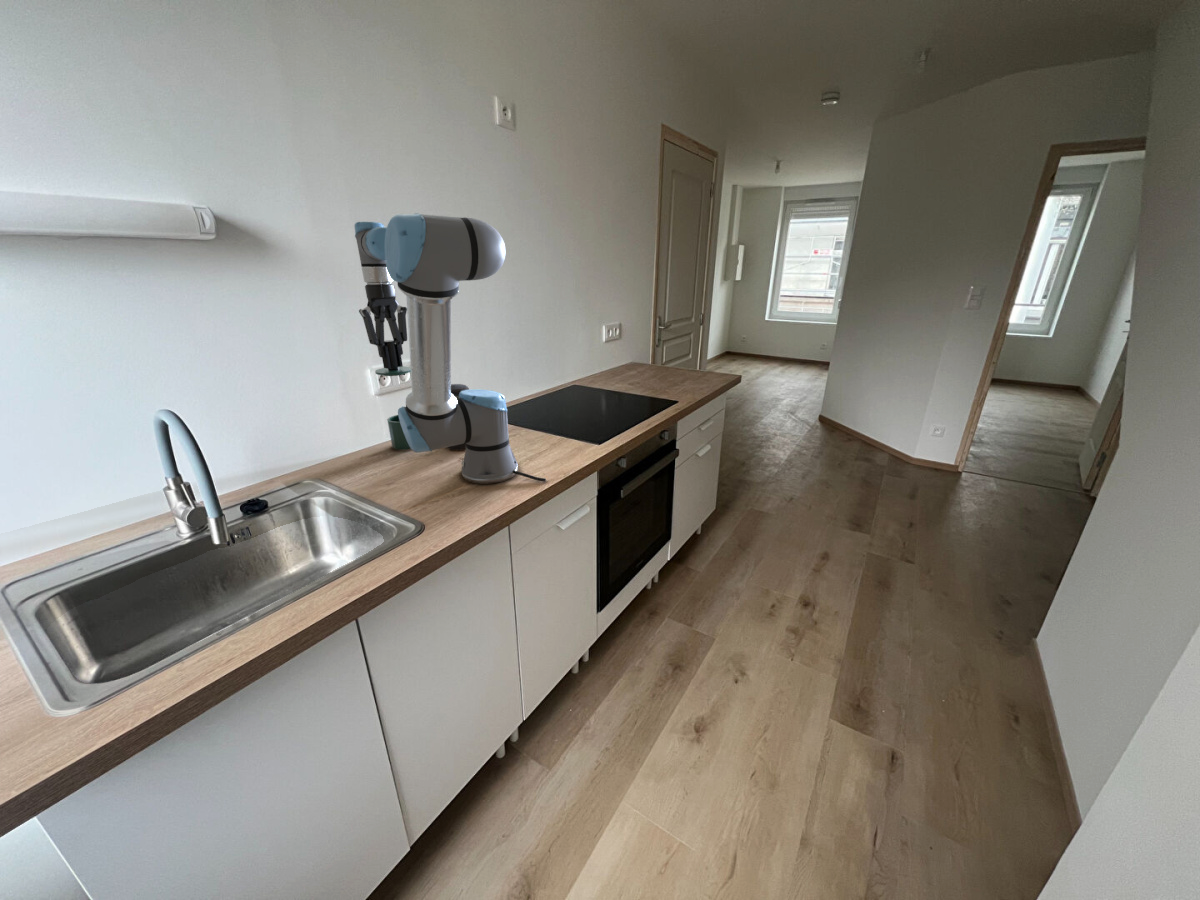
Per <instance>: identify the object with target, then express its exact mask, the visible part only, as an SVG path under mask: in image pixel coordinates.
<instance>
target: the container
mask: <svg viewBox="0 0 1200 900" xmlns="http://www.w3.org/2000/svg"><path fill="white" fill-rule="evenodd" d="M464 390H470V387H468V386H467V385H466V384H463V383H451V393H452V394H453V395H454V396H455V397H456V399H458V398H459V393H460V392H461V391H464ZM447 449H449V450H452V451H466V445H465V443H464V444H459V445H455V446H450V447H447Z"/></svg>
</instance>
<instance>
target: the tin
mask: <svg viewBox="0 0 1200 900" xmlns="http://www.w3.org/2000/svg"><path fill="white" fill-rule="evenodd" d="M386 420H387V426H388V432H389V437H390V442H391V446H392V449H395V450H412V449H411V448H410V446H409V444H408V442H407V440H406V438H405V435H404V432H403V430H402V427H401V424H400V420H399V416H398V414H395V415H392V416H389V417H388V418H387V419H386Z"/></svg>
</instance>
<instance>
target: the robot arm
mask: <svg viewBox="0 0 1200 900" xmlns="http://www.w3.org/2000/svg"><path fill="white" fill-rule="evenodd" d="M353 226H354V238H355V239H356V245H357V250H358V255H359V261H360V266H361V272H362V277H363V282H364V283H366V284H365V285H364V290H365V295H366V299H367V304H366V307H364V308H363V309H362V308H360V309H359V310H358V313H359V314H360V316H361V317H362V320H363V323H364V327H365V331H366V334H367V335H366V336H367V338H368V342H369V344H370V345H374V346H376V347H377V352H378V357H379V358H381V359H382V364H383V365H382V366H383V368H387V369H391V364H390V358H389V353H388V347H387V346H384V341H385V320H386V321H387V325H388V327H389V330H390V333H391V336H392V340H394V341H395V347H396V353H397V359H398V365H399V367H404V366H403V359H402V356H403V355H404V350H403V344H405V342H407V341H408V345H409V360H410V361H409V363H410V367H411V372H410V381H411V391H410V393H408V395H407V396H406V398H405V406H401V407H399V408H398V409H397V415H398V416H399V420H400V424H401V427H402V430H403V432H404V435H405V438H406V440H407V442H408V444H409V446H410V448H411V449H410V450H412V451H413V452H415V453H419V454H420V453H426V452H433V451H435V450H440V449H445V448H448V447H450V446H455V445H459V444H464V443H465V445H466V450H464V456H463V459H461V460H462V461H461V477H462V478H463V479H464V480H466V481H468V482H469V483H471V484H477V485H490V484H497V483H502V482H505V481H508V480H510V479H511V478H514V477H515V476H516V475H518V476H521V477H525V478H528V479H531V480H535V481H539V482H543V483H544V482H546V481H547V479H546V478H543V477H538V476H534V475H531V474H528V473H525V472H522V471H519V464H518V461H517V459H516V457H515V454H514V452H513V450H512V447H511V445H510V436H509V435H510V434H509V433H510V432H509V420H508V419H509V418H508V408H507V407H508V406H507V401H506V398H505V395H504V394H502V393H501V392H498V391H494V390H489V389H475V388H473V389H471V388H469V390H464V391H461V392H460V393H459V398H458V399H456V397H455V396H454V395H453V394H452V393H451V384H452V299H454V298H455V297H456V296H457V295H459V291H460V287H459V286H460V282H463V281H464V282H465V281H466V282H467V281H479V280H485V279H487V278H490V277H491V276H493V275H495V274H496V273H498V271H500V269H501V268H502V266H503V265H504V262H505V259H506V250H507V249H506V244H505V241H504V239H503V236H502V235H501V234H500V232H499V231H498V230H497V229H496V228H495V227H494V226H492V225H491V224H490V223H488V222H486V221H483V220H480V219H477V218H474V217H459V216H445V215H434V214H423V213H422V214H421V213H418V212H417V213H416V212H415V213H412V214H411V213H409V214H408V213H399V214H395V215H394V216H392V217H391V218H390V219H389V221H388V223H387V226H385V225H384V223H381V222H377V221H357V222H355V224H354V225H353ZM394 282H396V283H397V288H398V290H400V292H402V294H404V295H405V296H406V306H402V305H399V303H398V302H397V300H396V299H397V298H396V297H397V296H396V294H397V293H396V288H395V285H394V284H393V283H394ZM396 312H397V317H396ZM371 315H373V318H372V316H371ZM373 321H374V322H373ZM374 325H375V326H374ZM407 330H408V331H407Z"/></svg>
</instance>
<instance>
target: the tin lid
mask: <svg viewBox="0 0 1200 900" xmlns="http://www.w3.org/2000/svg"><path fill="white" fill-rule="evenodd" d="M384 346H387V347H388V353H389V358H390V364H391V369H387V368H384V367H382V368H378V369H376V370H375V371H374V372H375V373H374V374H376V375H378V376H385V377H396V376H398V377H399V376H403V375H406V374H409V373H411V366H403V367H399V365H398V359H397V353H396V347H395V341H394V340H393V339H389V340H388V339H387V340H384Z"/></svg>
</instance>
